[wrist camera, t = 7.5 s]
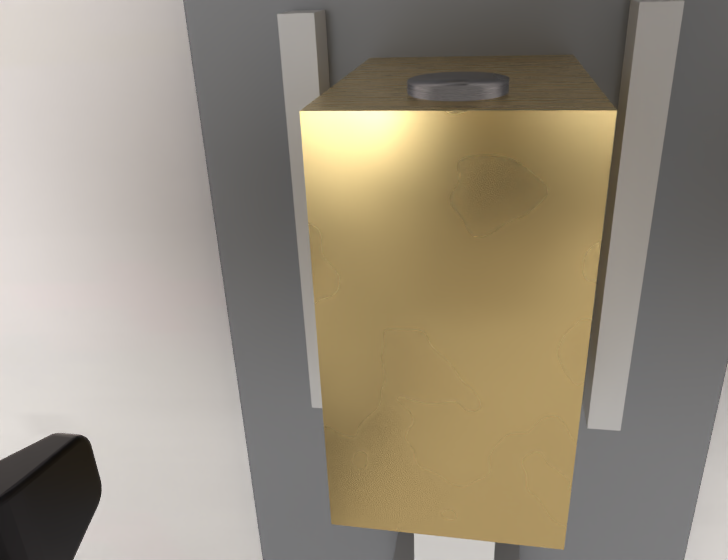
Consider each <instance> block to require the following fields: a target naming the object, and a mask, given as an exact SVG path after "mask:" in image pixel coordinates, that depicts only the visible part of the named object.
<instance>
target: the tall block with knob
mask: <svg viewBox="0 0 728 560" xmlns="http://www.w3.org/2000/svg"><path fill="white" fill-rule="evenodd" d="M616 116H617V109H616V108H615V107H614V106H613V104H612V103H611V102H610V101H609V99H608V98H607V97H606V96H605V94H604V93H603V92H602V90H601V89H600V88H599V87H598V85H597V84H596V83H595V82H594V80H593V79H592V78H591V77H590V75H589V74H588V73H587V71H586V70H585V69H584V68H583V66H582V65H581V64H580V63H579V61H578V60H577V59H576V58H575V56H574V55H514V56H452V57H391V58H369V59H368V60H366V61H365V62H364V63H362V64H361V65H360V66H358V67H357V68H356V69H354V70H353V71H352V72H351V73H349V74H348V75H347V76H345V77H344V78H343V79H341V80H340V81H339V82H337V83H336V84H335V85H333V86H332V87H331V88H329V89H328V90H327V91H325V92H324V93H323V94H321V95H320V96H319V97H317V98H316V99H315V100H313V101H312V102H311V103H309V104H308V105H307V106H306V107H304V108H303V109H302V110H300V124H301V137H302V150H303V163H304V176H305V189H306V202H307V215H308V228H309V241H310V254H311V267H312V280H313V293H314V306H315V319H316V332H317V345H318V358H319V371H320V384H321V397H322V410H323V423H324V436H325V449H326V462H327V475H328V488H329V501H330V514H331V524H333V525H342V526H351V527H360V528H369V529H379V530H388V531H397V532H406V533H415V534H424V535H433V536H442V537H451V538H461V539H470V540H479V541H488V542H497V543H506V544H515V545H524V546H533V547H543V548H552V549H561V550H564V546H565V538H566V529H567V521H568V513H569V505H570V496H571V488H572V480H573V472H574V463H575V455H576V447H577V439H578V430H579V422H580V414H581V405H582V397H583V389H584V381H585V372H586V364H587V356H588V348H589V339H590V331H591V323H592V315H593V306H594V298H595V290H596V281H597V273H598V265H599V257H600V248H601V240H602V232H603V224H604V215H605V207H606V199H607V191H608V182H609V174H610V166H611V157H612V149H613V141H614V133H615V124H616Z"/></svg>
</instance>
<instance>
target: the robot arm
mask: <svg viewBox="0 0 728 560" xmlns="http://www.w3.org/2000/svg"><path fill="white" fill-rule="evenodd" d="M100 497H101V480H100V476H99V473H98V469H97V465H96V461H95V458H94V454H93V450H92V446H91V443H90V441H89V440H88V439H87V438H86V437H85V436H82V435H77V434H66V433H55V434H52V435H50V436H48V437H46V438H44V439H42V440H40V441H38V442H36V443H34V444H32V445H30V446H28V447H26V448H24V449H22V450H20V451H18V452H16V453H14V454H12V455H10V456H8V457H6V458H4V459H2V460H0V560H73V559H74V557H75V555H76V552H77V550H78V548H79V546H80V544H81V541H82V539H83V537H84V535H85V533H86V530H87V528H88V526H89V524H90V522H91V519H92V517H93V515H94V513H95V511H96V509H97V506H98V504H99V501H100Z"/></svg>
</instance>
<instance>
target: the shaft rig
mask: <svg viewBox="0 0 728 560" xmlns="http://www.w3.org/2000/svg"><path fill="white" fill-rule="evenodd" d="M183 1H184V9H185V16H186V23H187V30H188V37H189V44H190V51H191V58H192V65H193V72H194V79H195V86H196V93H197V100H198V107H199V114H200V121H201V128H202V135H203V142H204V149H205V156H206V163H207V170H208V177H209V184H210V191H211V198H212V205H213V212H214V219H215V226H216V233H217V240H218V247H219V254H220V261H221V268H222V275H223V282H224V289H225V296H226V303H227V310H228V317H229V325H230V332H231V339H232V346H233V353H234V360H235V367H236V374H237V381H238V388H239V395H240V402H241V409H242V416H243V423H244V430H245V437H246V444H247V451H248V458H249V465H250V472H251V479H252V486H253V493H254V500H255V507H256V514H257V521H258V528H259V535H260V542H261V549H262V556H263V560H684V557H685V553H686V548H687V544H688V539H689V535H690V530H691V526H692V521H693V517H694V512H695V507H696V503H697V498H698V494H699V489H700V485H701V480H702V476H703V471H704V467H705V462H706V458H707V453H708V449H709V444H710V440H711V435H712V430H713V426H714V421H715V417H716V412H717V408H718V403H719V399H720V394H721V390H722V385H723V381H724V376H725V372H726V367H727V362H728V0H183ZM514 55H574V56H575V58H576V59H577V60H578V61H579V63H580V64H581V65H582V66H583V68H584V69H585V70H586V71H587V73H588V74H589V75H590V77H591V78H592V79H593V80H594V82H595V83H596V84H597V85H598V87H599V88H600V89H601V90H602V92H603V93H604V94H605V96H606V97H607V98H608V99H609V101H610V102H611V103H612V104H613V106H614V107H615V108H616V109H617V116H616V124H615V133H614V141H613V149H612V157H611V166H610V174H609V182H608V191H607V199H606V207H605V215H604V224H603V232H602V240H601V248H600V257H599V265H598V273H597V281H596V290H595V298H594V306H593V315H592V323H591V331H590V339H589V348H588V356H587V364H586V372H585V381H584V389H583V397H582V405H581V414H580V422H579V430H578V439H577V447H576V455H575V463H574V472H573V480H572V488H571V496H570V505H569V513H568V521H567V529H566V538H565V546H564V550H561V549H552V548H543V547H533V546H524V545H515V544H506V543H497V542H488V541H479V540H470V539H461V538H451V537H442V536H433V535H424V534H415V533H406V532H397V531H388V530H379V529H369V528H360V527H351V526H342V525H333V524H331V514H330V501H329V488H328V475H327V462H326V449H325V436H324V423H323V410H322V397H321V384H320V371H319V358H318V345H317V332H316V319H315V306H314V293H313V280H312V267H311V254H310V241H309V228H308V215H307V202H306V189H305V176H304V163H303V150H302V137H301V124H300V110H302V109H303V108H304V107H306V106H307V105H308V104H309V103H311V102H312V101H313V100H315V99H316V98H317V97H319V96H320V95H321V94H323V93H324V92H325V91H327V90H328V89H329V88H331V87H332V86H333V85H335V84H336V83H337V82H339V81H340V80H341V79H343V78H344V77H345V76H347V75H348V74H349V73H351V72H352V71H353V70H354V69H356V68H357V67H358V66H360V65H361V64H362V63H364V62H365V61H366V60H368V59H369V58H391V57H452V56H514Z"/></svg>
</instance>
